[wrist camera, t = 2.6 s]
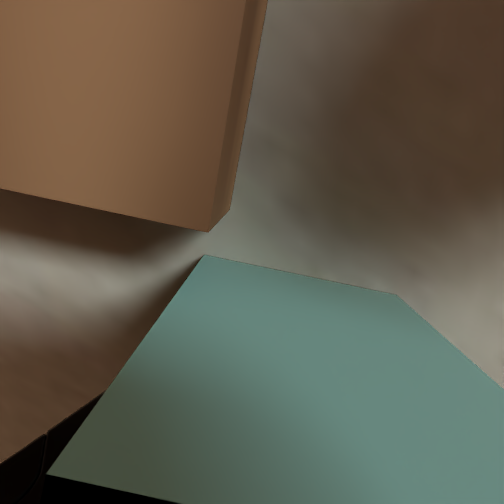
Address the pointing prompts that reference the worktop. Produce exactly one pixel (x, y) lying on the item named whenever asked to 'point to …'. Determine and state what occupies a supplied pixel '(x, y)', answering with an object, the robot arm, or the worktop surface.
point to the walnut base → (127, 103)
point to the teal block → (287, 403)
